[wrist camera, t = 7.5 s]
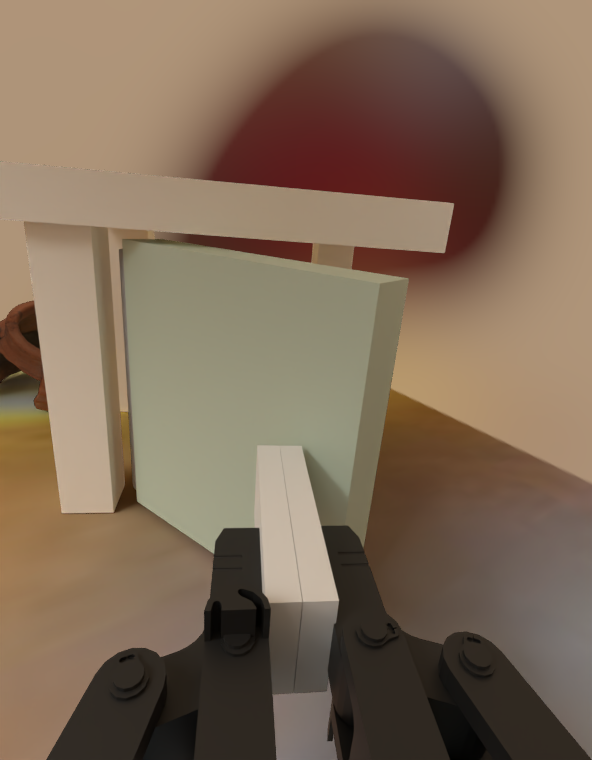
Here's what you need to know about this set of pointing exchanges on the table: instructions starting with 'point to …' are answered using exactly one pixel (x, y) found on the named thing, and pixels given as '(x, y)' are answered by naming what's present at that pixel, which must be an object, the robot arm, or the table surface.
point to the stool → (103, 285)
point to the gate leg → (253, 379)
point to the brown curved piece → (22, 348)
